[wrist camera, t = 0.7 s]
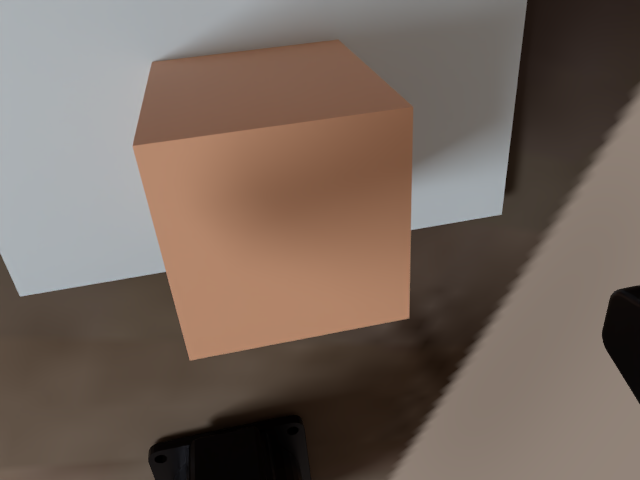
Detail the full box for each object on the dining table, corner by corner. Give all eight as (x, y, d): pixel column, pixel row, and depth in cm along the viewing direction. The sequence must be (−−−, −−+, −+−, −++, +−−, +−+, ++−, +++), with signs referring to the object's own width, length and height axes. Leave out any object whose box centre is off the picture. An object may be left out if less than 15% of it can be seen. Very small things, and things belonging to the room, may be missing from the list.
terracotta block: (346, 200, 18) (409, 318, 13) (189, 226, 17) (190, 360, 12) (338, 39, 15) (413, 106, 10) (151, 61, 14) (132, 145, 9)
